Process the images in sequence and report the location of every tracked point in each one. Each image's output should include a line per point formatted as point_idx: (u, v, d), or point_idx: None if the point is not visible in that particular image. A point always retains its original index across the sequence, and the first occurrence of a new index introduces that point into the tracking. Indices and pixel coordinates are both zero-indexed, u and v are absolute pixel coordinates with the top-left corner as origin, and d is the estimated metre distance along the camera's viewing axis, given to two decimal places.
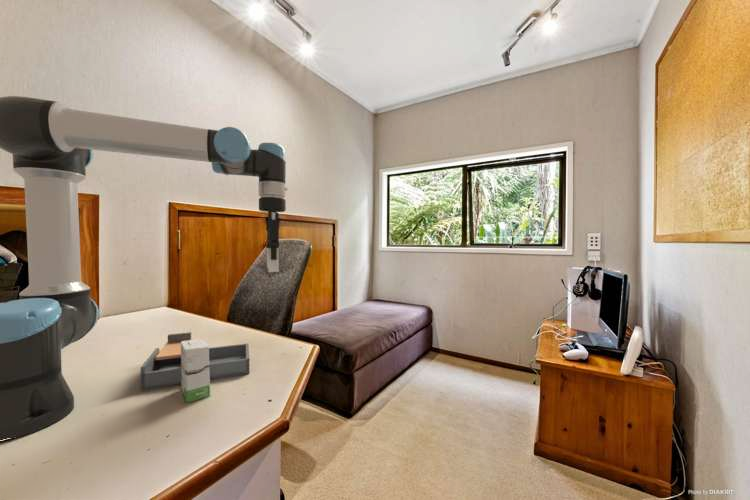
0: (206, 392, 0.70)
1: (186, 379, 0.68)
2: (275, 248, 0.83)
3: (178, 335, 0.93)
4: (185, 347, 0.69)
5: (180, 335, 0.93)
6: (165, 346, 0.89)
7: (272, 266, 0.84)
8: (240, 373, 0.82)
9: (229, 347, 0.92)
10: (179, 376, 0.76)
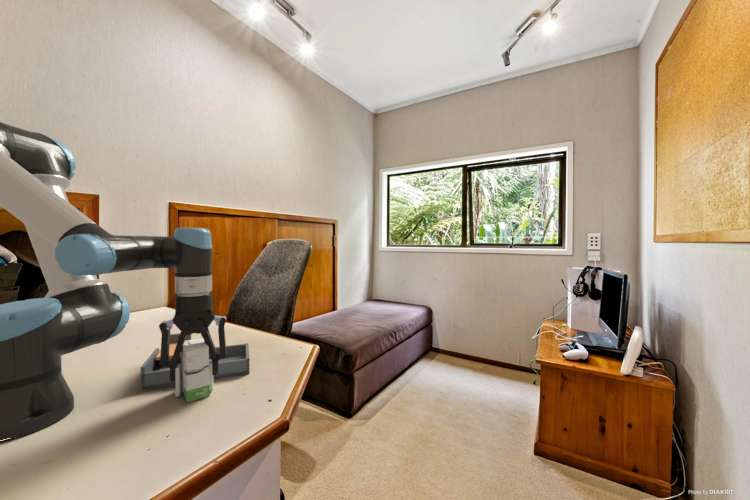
0: (206, 392, 0.70)
1: (186, 379, 0.68)
2: None
3: (178, 335, 0.93)
4: (185, 347, 0.69)
5: None
6: None
7: None
8: (240, 373, 0.82)
9: (229, 347, 0.92)
10: None
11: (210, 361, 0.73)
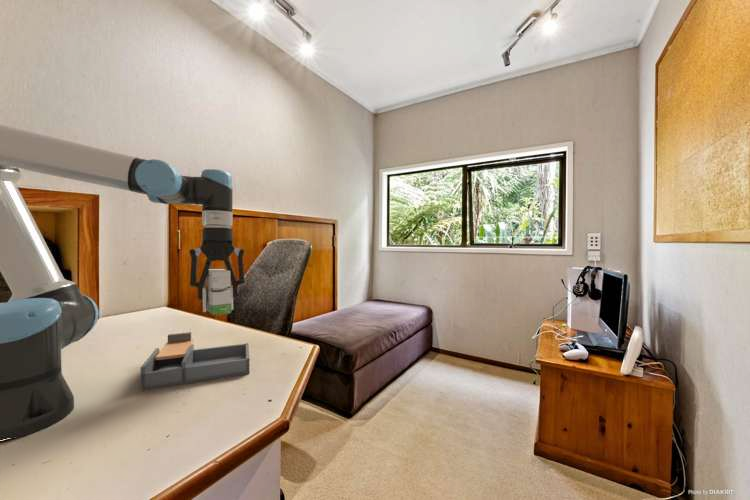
0: (228, 309, 0.83)
1: (212, 295, 0.81)
2: None
3: (178, 335, 0.93)
4: (211, 270, 0.82)
5: (180, 335, 0.93)
6: (165, 346, 0.89)
7: None
8: (240, 373, 0.82)
9: (229, 347, 0.92)
10: (179, 376, 0.76)
11: (231, 286, 0.87)
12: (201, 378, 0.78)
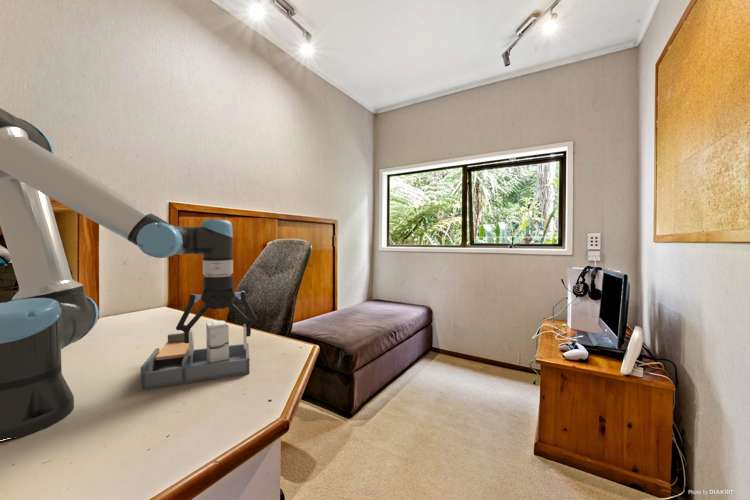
0: None
1: (210, 352, 0.81)
2: None
3: (178, 335, 0.93)
4: (209, 326, 0.83)
5: (180, 335, 0.93)
6: (165, 346, 0.89)
7: None
8: (240, 373, 0.82)
9: (229, 347, 0.92)
10: (179, 376, 0.76)
11: (244, 325, 0.88)
12: (201, 378, 0.78)
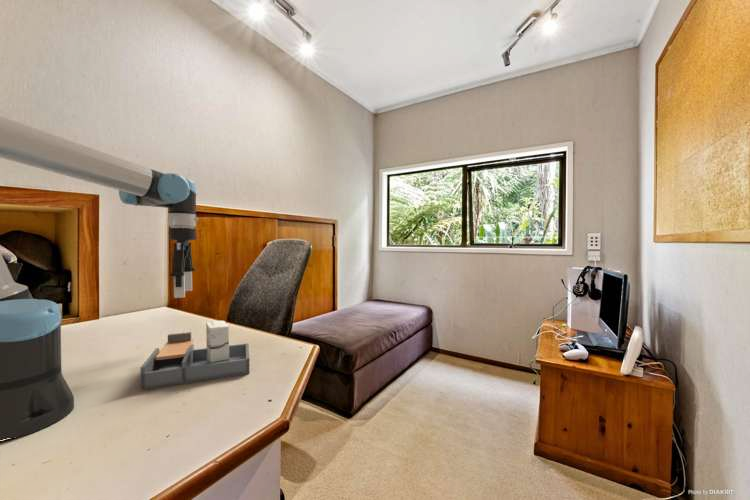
0: None
1: (210, 352, 0.81)
2: (179, 276, 0.91)
3: (178, 335, 0.93)
4: (209, 326, 0.83)
5: (180, 335, 0.93)
6: (165, 346, 0.89)
7: (178, 292, 0.92)
8: (240, 373, 0.82)
9: (229, 347, 0.92)
10: (179, 376, 0.76)
11: (186, 271, 1.04)
12: (201, 378, 0.78)
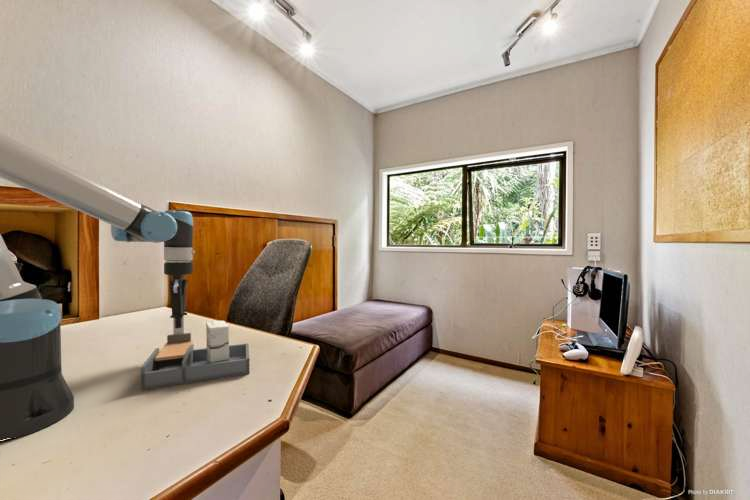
0: None
1: (210, 352, 0.81)
2: (179, 318, 0.93)
3: (178, 336, 0.93)
4: (209, 326, 0.83)
5: (180, 336, 0.93)
6: (165, 347, 0.89)
7: (177, 333, 0.94)
8: (240, 373, 0.82)
9: (229, 347, 0.92)
10: (179, 376, 0.76)
11: None
12: (201, 378, 0.78)
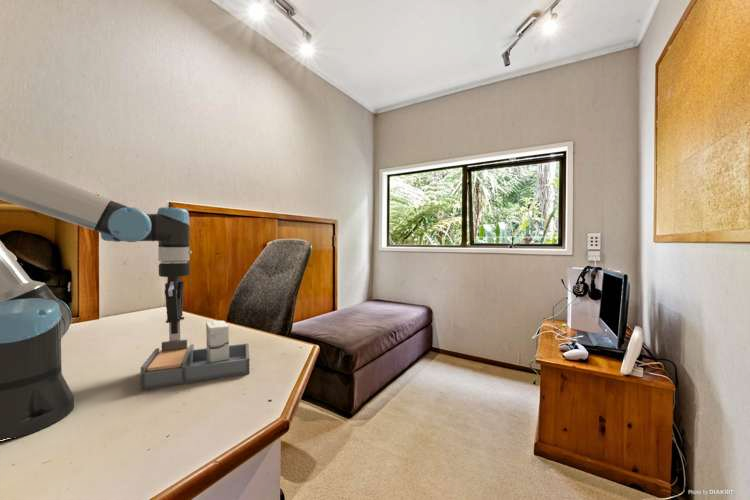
0: None
1: (210, 352, 0.81)
2: (175, 323, 0.86)
3: (173, 343, 0.86)
4: (209, 326, 0.83)
5: (175, 343, 0.86)
6: (159, 355, 0.82)
7: (173, 339, 0.87)
8: (240, 373, 0.82)
9: (229, 347, 0.92)
10: (179, 376, 0.76)
11: None
12: (201, 378, 0.78)
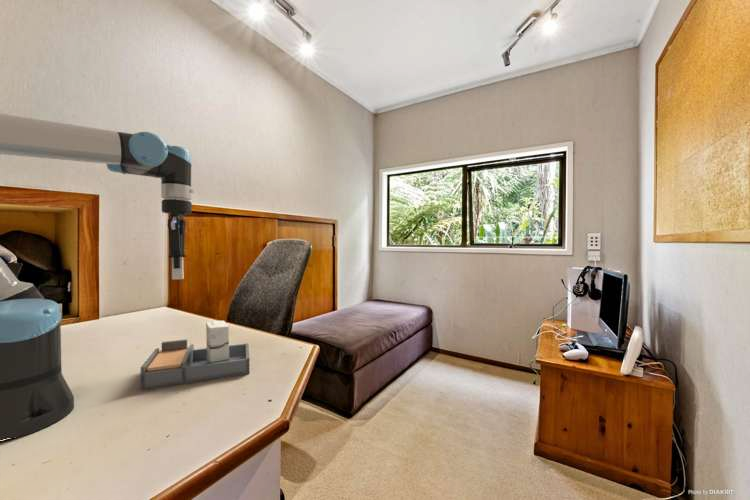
0: None
1: (210, 352, 0.81)
2: (178, 257, 0.90)
3: (173, 343, 0.86)
4: (209, 326, 0.83)
5: (175, 343, 0.86)
6: (159, 355, 0.82)
7: (176, 274, 0.91)
8: (240, 373, 0.82)
9: (229, 347, 0.92)
10: (179, 376, 0.76)
11: None
12: (201, 378, 0.78)
